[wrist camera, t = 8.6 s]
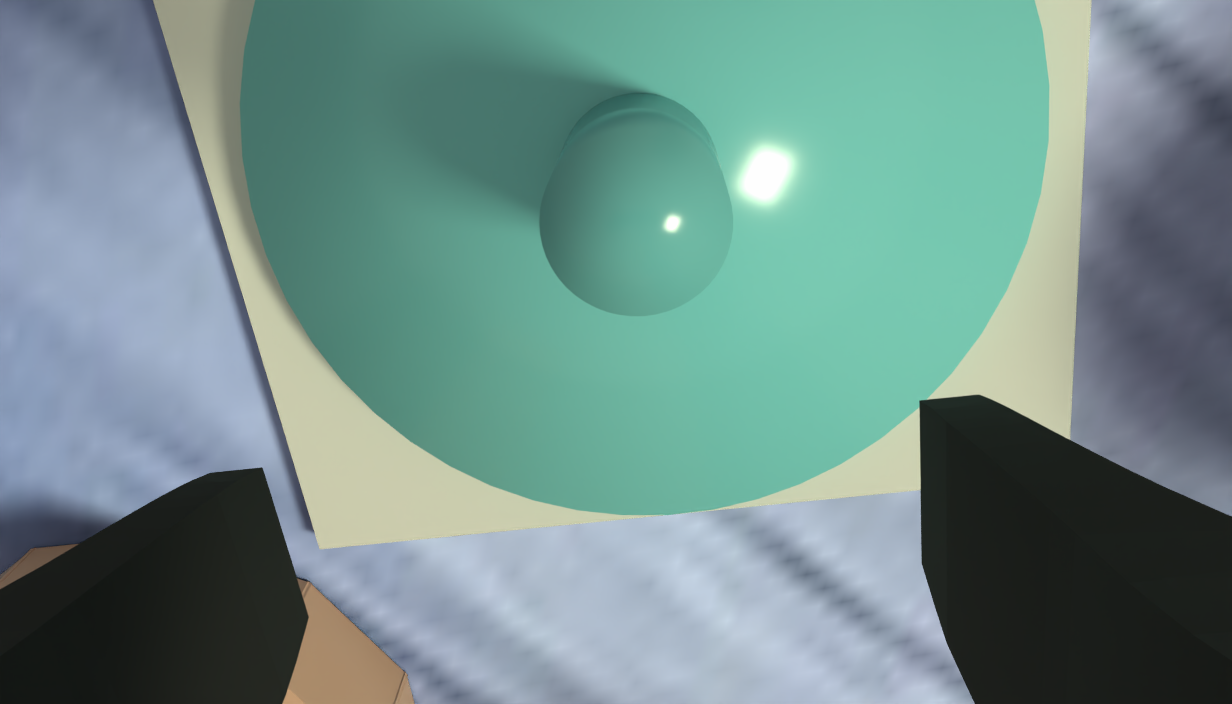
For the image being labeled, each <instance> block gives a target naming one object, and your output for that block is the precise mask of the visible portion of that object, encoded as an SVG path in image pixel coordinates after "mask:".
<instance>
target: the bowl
mask: <svg viewBox="0 0 1232 704" xmlns="http://www.w3.org/2000/svg"><path fill="white" fill-rule="evenodd" d="M76 545H78V544H73V545H63V546H53V547H43V548H33V549H30V550H29V551H28V552H27V553H26V554H25V555H24V556H23V557H22V558H21V559H20V560H18V561H17V562H16V563H14V564H13V565H12V566H11V567H9V568H8V569H7V570H6V571H4V572H3V573H2V574H1V575H0V589H1V588H3V587H5V586H7V585H8V584H10V583H12V582H14V581H16V580H17V579H19V578H21V577H23V576H25V575H26V574H28V573H30V572H32V571H34V570H35V569H37V568H39V567H41V566H42V565H44V564H46V563H48V562H49V561H51V560H53V559H54V558H56V557H58V556H59V555H61V554H63V553H65V552H66V551H68V550H70V549H71V548H73V547H75V546H76ZM297 580H298V584H299V587H300V590H301V593H302V596H303V600H304V603H305V606H306V609H307V612H308V616H309V619H308V623H307V626H306V630H305V633H304V637H303V641H302V644H301V648H300V651H299V655H298V658H297V662H296V665H295V668H294V671H293V674H292V677H291V681H290V684H289V687H288V690H287V693H286V696H285V699H284V701H283V703H282V704H415V703H414V700H413V696H412V693H411V689H410V685H409V682H408V678H407V676H408V675H407V674H406V672H404V671H403V670H402V669H401V668H400V667H399V666H398V665H396V664H395V663H394V662H393V661H392V660H391V659H390V658H389V657H388V656H387V655H386V654H385V653H384V652H383V651H382V650H381V649H379V648H378V647H377V646H376V645H375V644H374V643H373V642H372V641H371V640H370V639H369V638H368V637H367V636H366V635H365V634H364V633H363V632H361V631H360V630H359V629H358V628H357V627H356V626H355V625H354V624H353V623H352V622H351V621H350V620H349V619H348V618H347V617H346V616H345V615H343V614H342V613H341V612H340V611H339V610H338V609H337V608H336V607H335V606H334V605H333V604H332V603H331V602H330V601H329V600H328V599H327V598H325V597H324V596H323V595H322V594H321V593H320V592H319V591H318V590H317V589H316V588H315V587H314V586H313V585H312V583H310V582H306V581H303V580H300V579H298V578H297Z"/></svg>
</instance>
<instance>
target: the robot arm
mask: <svg viewBox="0 0 1232 704" xmlns="http://www.w3.org/2000/svg"><path fill="white" fill-rule="evenodd" d="M919 410H920V477H921V544H922V565H923V569H924V572H925V575H926V579H927V582H928V585H929V588H930V592H931V595H932V598H933V602H934V605H935V608H936V611H937V614H938V617H939V620H940V623H941V626H942V630H943V633H944V636H945V639H946V642H947V644H948V647H949V649H950V651H951V653H952V655H953V658H954V660H955V662H956V664H957V666H958V668H959V671H960V673H961V675H962V677H963V679H964V681H965V683H966V686H967V688H968V690H969V692H970V694H971V696H972V699H973V701H974V703H975V704H1232V516H1229V515H1227V514H1224V513H1222V512H1220V511H1217V510H1215V509H1213V508H1211V507H1208V506H1206V505H1204V504H1202V503H1199V502H1197V501H1195V500H1193V499H1190V498H1188V497H1186V496H1184V495H1181V494H1179V493H1177V492H1174V491H1172V490H1170V489H1168V488H1165V487H1163V486H1161V485H1159V484H1157V483H1155V482H1153V481H1151V480H1149V479H1146V478H1144V477H1142V476H1140V475H1138V474H1136V473H1134V472H1132V471H1130V470H1128V469H1126V468H1124V467H1122V466H1120V465H1118V464H1116V463H1114V462H1112V461H1110V460H1108V459H1106V458H1104V457H1102V456H1100V455H1098V454H1096V453H1094V452H1092V451H1090V450H1088V449H1086V448H1084V447H1082V446H1081V445H1079V444H1077V443H1075V442H1073V441H1071V440H1069V439H1067V438H1065V437H1063V436H1062V435H1060V434H1058V433H1056V432H1054V431H1052V430H1050V429H1048V428H1046V427H1045V426H1043V425H1041V424H1039V423H1037V422H1035V421H1033V420H1031V419H1030V418H1028V417H1026V416H1024V415H1022V414H1020V413H1018V412H1016V411H1014V410H1012V409H1010V408H1008V407H1006V406H1004V405H1002V404H1000V403H998V402H996V401H994V400H992V399H989V398H987V397H984V396H982V395H979V394H978V395H968V396H958V397H948V398H938V399H929V400H919ZM308 619H309V616H308V612H307V609H306V606H305V603H304V600H303V596H302V593H301V590H300V587H299V584H298V580H297V577H296V574H295V571H294V567H293V564H292V561H291V558H290V555H289V551H288V548H287V545H286V542H285V539H284V535H283V532H282V529H281V526H280V523H279V519H278V516H277V513H276V510H275V507H274V503H273V500H272V497H271V494H270V490H269V487H268V484H267V481H266V478H265V474H264V471H263V468H253V469H243V470H234V471H224V472H214V473H209V474H206V475H204V476H202V477H199V478H197V479H194V480H192V481H190V482H188V483H186V484H184V485H182V486H180V487H178V488H176V489H174V490H172V491H170V492H168V493H166V494H165V495H163V496H161V497H159V498H157V499H155V500H154V501H152V502H150V503H148V504H147V505H145V506H143V507H141V508H140V509H138V510H136V511H134V512H133V513H131V514H129V515H127V516H126V517H124V518H122V519H121V520H119V521H117V522H115V523H114V524H112V525H110V526H109V527H107V528H105V529H104V530H102V531H100V532H98V533H97V534H95V535H93V536H92V537H90V538H88V539H87V540H85V541H83V542H81V543H80V544H78V545H76V546H75V547H73V548H71V549H70V550H68V551H66V552H65V553H63V554H61V555H59V556H58V557H56V558H54V559H53V560H51V561H49V562H48V563H46V564H44V565H42V566H41V567H39V568H37V569H35V570H34V571H32V572H30V573H28V574H26V575H25V576H23V577H21V578H19V579H17V580H16V581H14V582H12V583H10V584H8V585H7V586H5V587H3V588H1V589H0V704H282V703H283V701H284V699H285V696H286V693H287V690H288V687H289V684H290V681H291V677H292V674H293V671H294V668H295V665H296V662H297V658H298V655H299V651H300V648H301V644H302V641H303V637H304V633H305V630H306V626H307V623H308Z"/></svg>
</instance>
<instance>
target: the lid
mask: <svg viewBox="0 0 1232 704" xmlns="http://www.w3.org/2000/svg"><path fill="white" fill-rule="evenodd" d="M240 122H241V143H242V158H243V164H244V170H245V175H246V181H247V186H248V192H249V198H250V203H251V208H252V211H253V215H254V218H255V221H256V224H257V227H258V231H259V234H260V237H261V240H262V244H263V247H264V250H265V253H266V256H267V258H268V260H269V263H270V265H271V267H272V269H273V272H274V274H275V276H276V278H277V280H278V283H279V285H280V287H281V289H282V291H283V294H284V296H285V298H286V300H287V302H288V304H289V305H290V307H291V309H292V310H293V312H294V314H295V315H296V317H297V318H298V320H299V322H300V323H301V325H302V327H303V328H304V330H305V332H306V333H307V335H308V337H309V338H310V340H311V342H312V343H313V344H314V345H315V347H316V348H317V349H318V351H319V352H320V353H321V354H322V356H323V357H324V358H325V359H326V361H327V362H328V363H329V365H330V366H331V367H332V368H333V370H334V371H335V372H336V374H337V375H338V376H339V377H340V379H341V380H342V381H343V382H344V383H345V384H346V385H347V386H348V387H349V388H350V389H351V390H352V391H353V392H354V393H355V394H356V395H357V396H358V397H359V398H360V399H361V400H362V401H363V402H364V403H365V404H366V405H367V406H368V407H369V408H370V409H371V410H372V411H373V412H374V413H375V414H376V415H378V416H379V417H380V418H381V419H383V420H384V421H385V422H386V423H388V424H389V425H390V426H391V427H393V428H394V429H395V430H396V431H398V432H399V433H400V434H401V435H403V436H404V437H405V438H406V439H408V440H409V441H410V442H412V443H413V444H415V445H417V446H418V447H420V448H421V449H423V450H425V451H426V452H428V453H429V454H431V455H433V456H434V457H436V458H437V459H439V460H441V461H442V462H444V463H445V464H447V465H449V466H450V467H452V468H455V469H457V470H459V471H461V472H463V473H465V474H467V475H469V476H471V477H473V478H476V479H478V480H480V481H482V482H484V483H486V484H488V485H490V486H493V487H496V488H499V489H502V490H505V491H507V492H510V493H513V494H516V495H519V496H522V497H525V498H528V499H531V500H534V501H538V502H542V503H547V504H551V505H556V506H560V507H565V508H569V509H574V510H579V511H588V512H598V513H607V514H616V515H672V514H680V513H689V512H698V511H706V510H714V509H718V508H722V507H727V506H731V505H735V504H740V503H744V502H748V501H752V500H757V499H760V498H762V497H765V496H768V495H771V494H774V493H776V492H779V491H782V490H785V489H788V488H791V487H793V486H796V485H799V484H801V483H803V482H805V481H807V480H810V479H812V478H814V477H816V476H818V475H820V474H822V473H824V472H826V471H828V470H830V469H832V468H834V467H836V466H838V465H840V464H842V463H844V462H845V461H847V460H848V459H850V458H852V457H853V456H855V455H856V454H858V453H859V452H861V451H862V450H864V449H866V448H867V447H869V446H870V445H872V444H873V443H875V442H877V441H878V440H880V439H881V438H882V437H884V436H885V435H886V434H887V433H889V432H890V431H891V430H892V429H893V428H895V427H896V426H897V425H898V424H900V423H901V422H902V421H903V420H904V419H906V418H907V417H908V416H909V415H911V414H912V413H913V412H914V411H915V410H917V409H918V408H919V400H927V399H928V398H929V397H930V395H931V394H932V393H933V392H934V391H935V390H936V389H937V388H938V387H939V386H940V385H941V384H942V383H943V382H944V381H945V380H946V379H947V378H948V377H949V376H950V375H951V374H952V372H953V371H954V370H955V369H956V367H957V366H958V365H959V363H960V362H961V361H962V359H963V358H964V357H965V355H966V354H967V353H968V351H969V350H970V349H971V347H972V346H973V345H974V343H975V342H976V341H977V339H978V338H979V337H980V335H981V334H982V332H983V331H984V329H985V327H986V326H987V324H988V322H989V320H990V319H991V317H992V315H993V313H994V312H995V310H996V308H997V307H998V305H999V303H1000V301H1001V300H1002V298H1003V296H1004V295H1005V293H1006V291H1007V289H1008V287H1009V284H1010V282H1011V279H1012V277H1013V275H1014V272H1015V270H1016V268H1017V265H1018V263H1019V261H1020V258H1021V256H1022V254H1023V251H1024V249H1025V247H1026V244H1027V241H1028V237H1029V234H1030V230H1031V227H1032V223H1033V220H1034V216H1035V213H1036V209H1037V206H1038V202H1039V198H1040V195H1041V190H1042V183H1043V176H1044V169H1045V162H1046V156H1047V149H1048V142H1049V78H1048V70H1047V61H1046V53H1045V45H1044V37H1043V30H1042V26H1041V22H1040V18H1039V15H1038V11H1037V7H1036V3H1035V0H255V3H254V7H253V12H252V16H251V21H250V25H249V30H248V34H247V39H246V43H245V48H244V57H243V69H242V81H241V93H240Z"/></svg>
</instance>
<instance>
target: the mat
mask: <svg viewBox="0 0 1232 704" xmlns="http://www.w3.org/2000/svg"><path fill="white" fill-rule="evenodd" d="M153 2H154V5H155V9H156V12H157V15H158V19H159V22H160V25H161V28H162V32H163V35H164V38H165V42H166V45H167V48H168V51H169V55H170V58H171V61H172V65H173V68H174V71H175V74H176V78H177V81H178V84H179V88H180V91H181V94H182V97H183V101H184V104H185V107H186V111H187V114H188V117H189V121H190V124H191V127H192V130H193V134H194V137H195V140H196V144H197V147H198V150H199V153H200V157H201V160H202V163H203V167H204V170H205V173H206V176H207V180H208V183H209V186H210V190H211V193H212V196H213V200H214V203H215V206H216V209H217V213H218V216H219V219H220V223H221V226H222V229H223V232H224V236H225V239H226V242H227V246H228V249H229V252H230V255H231V259H232V262H233V265H234V269H235V272H236V275H237V278H238V282H239V285H240V288H241V292H242V295H243V298H244V302H245V305H246V308H247V311H248V315H249V318H250V321H251V325H252V328H253V331H254V334H255V338H256V341H257V344H258V348H259V351H260V354H261V357H262V361H263V364H264V367H265V371H266V374H267V377H268V381H269V384H270V387H271V390H272V394H273V397H274V400H275V404H276V407H277V410H278V413H279V417H280V420H281V423H282V427H283V430H284V433H285V436H286V440H287V443H288V446H289V450H290V453H291V456H292V459H293V463H294V466H295V469H296V473H297V476H298V479H299V483H300V486H301V489H302V492H303V496H304V499H305V502H306V506H307V509H308V512H309V515H310V519H311V522H312V525H313V529H314V532H315V535H316V538H317V542H318V545H319V548H320V549H327V548H337V547H347V546H358V545H368V544H378V543H388V542H398V541H408V540H418V539H429V538H439V537H449V536H459V535H469V534H479V533H489V532H499V531H510V530H520V529H530V528H540V527H550V526H560V525H570V524H581V523H591V522H601V521H611V520H621V519H631V518H641V517H652V516H662V515H616V514H607V513H598V512H588V511H579V510H574V509H569V508H565V507H560V506H556V505H551V504H547V503H542V502H538V501H534V500H531V499H528V498H525V497H522V496H519V495H516V494H513V493H510V492H507V491H505V490H502V489H499V488H496V487H493V486H490V485H488V484H486V483H484V482H482V481H480V480H478V479H476V478H473V477H471V476H469V475H467V474H465V473H463V472H461V471H459V470H457V469H455V468H452V467H450V466H449V465H447V464H445V463H444V462H442V461H441V460H439V459H437V458H436V457H434V456H433V455H431V454H429V453H428V452H426V451H425V450H423V449H421V448H420V447H418V446H417V445H415V444H413V443H412V442H410V441H409V440H408V439H406V438H405V437H404V436H403V435H401V434H400V433H399V432H398V431H396V430H395V429H394V428H393V427H391V426H390V425H389V424H388V423H386V422H385V421H384V420H383V419H381V418H380V417H379V416H378V415H376V414H375V413H374V412H373V411H372V410H371V409H370V408H369V407H368V406H367V405H366V404H365V403H364V402H363V401H362V400H361V399H360V398H359V397H358V396H357V395H356V394H355V393H354V392H353V391H352V390H351V389H350V388H349V387H348V386H347V385H346V384H345V383H344V382H343V381H342V380H341V379H340V377H339V376H338V375H337V374H336V372H335V371H334V370H333V368H332V367H331V366H330V365H329V363H328V362H327V361H326V359H325V358H324V357H323V356H322V354H321V353H320V352H319V351H318V349H317V348H316V347H315V345H314V344H313V343H312V342H311V340H310V338H309V337H308V335H307V333H306V332H305V330H304V328H303V327H302V325H301V323H300V322H299V320H298V318H297V317H296V315H295V314H294V312H293V310H292V309H291V307H290V305H289V304H288V302H287V300H286V298H285V296H284V294H283V291H282V289H281V287H280V285H279V283H278V280H277V278H276V276H275V274H274V272H273V269H272V267H271V265H270V263H269V260H268V258H267V256H266V253H265V250H264V247H263V244H262V240H261V237H260V234H259V231H258V227H257V224H256V221H255V218H254V215H253V211H252V208H251V203H250V198H249V192H248V186H247V181H246V175H245V170H244V164H243V158H242V143H241V122H240V93H241V81H242V69H243V57H244V48H245V43H246V39H247V34H248V30H249V25H250V21H251V16H252V12H253V7H254V3H255V0H153ZM1035 3H1036V7H1037V11H1038V15H1039V18H1040V22H1041V26H1042V30H1043V37H1044V45H1045V53H1046V61H1047V70H1048V78H1049V142H1048V149H1047V156H1046V162H1045V169H1044V176H1043V183H1042V190H1041V195H1040V198H1039V202H1038V206H1037V209H1036V213H1035V216H1034V220H1033V223H1032V227H1031V230H1030V234H1029V237H1028V241H1027V244H1026V247H1025V249H1024V251H1023V254H1022V256H1021V258H1020V261H1019V263H1018V265H1017V268H1016V270H1015V272H1014V275H1013V277H1012V279H1011V282H1010V284H1009V287H1008V289H1007V291H1006V293H1005V295H1004V296H1003V298H1002V300H1001V301H1000V303H999V305H998V307H997V308H996V310H995V312H994V313H993V315H992V317H991V319H990V320H989V322H988V324H987V326H986V327H985V329H984V331H983V332H982V334H981V335H980V337H979V338H978V339H977V341H976V342H975V343H974V345H973V346H972V347H971V349H970V350H969V351H968V353H967V354H966V355H965V357H964V358H963V359H962V361H961V362H960V363H959V365H958V366H957V367H956V369H955V370H954V371H953V372H952V374H951V375H950V376H949V377H948V378H947V379H946V380H945V381H944V382H943V383H942V384H941V385H940V386H939V387H938V388H937V389H936V390H935V391H934V392H933V393H932V394H931V395H930V397H929V398H928V399H927V400H929V399H938V398H948V397H958V396H968V395H978V394H979V395H982V396H984V397H987V398H989V399H992V400H994V401H996V402H998V403H1000V404H1002V405H1004V406H1006V407H1008V408H1010V409H1012V410H1014V411H1016V412H1018V413H1020V414H1022V415H1024V416H1026V417H1028V418H1030V419H1031V420H1033V421H1035V422H1037V423H1039V424H1041V425H1043V426H1045V427H1046V428H1048V429H1050V430H1052V431H1054V432H1056V433H1058V434H1060V435H1062V436H1063V437H1065V438H1067V439H1069V440H1070V428H1071V407H1072V387H1073V366H1074V346H1075V325H1076V305H1077V284H1078V264H1079V243H1080V223H1081V202H1082V182H1083V162H1084V141H1085V121H1086V100H1087V80H1088V59H1089V39H1090V18H1091V0H1035ZM915 490H921V477H920V410H919V408H918V409H917V410H915V411H914V412H913V413H912V414H911V415H909V416H908V417H907V418H906V419H904V420H903V421H902V422H901V423H900V424H898V425H897V426H896V427H895V428H893V429H892V430H891V431H890V432H889V433H887V434H886V435H885V436H884V437H882V438H881V439H880V440H878V441H877V442H875V443H873V444H872V445H870V446H869V447H867V448H866V449H864V450H862V451H861V452H859V453H858V454H856V455H855V456H853V457H852V458H850V459H848V460H847V461H845V462H844V463H842V464H840V465H838V466H836V467H834V468H832V469H830V470H828V471H826V472H824V473H822V474H820V475H818V476H816V477H814V478H812V479H810V480H807V481H805V482H803V483H801V484H799V485H796V486H793V487H791V488H788V489H785V490H782V491H779V492H776V493H774V494H771V495H768V496H765V497H762V498H760V499H757V500H752V501H748V502H744V503H740V504H735V505H731V506H727V507H722V508H718V509H714V510H723V509H733V508H743V507H753V506H763V505H773V504H783V503H794V502H804V501H814V500H824V499H834V498H844V497H854V496H865V495H875V494H885V493H895V492H905V491H915ZM706 511H712V510H706ZM698 512H702V511H698ZM689 513H692V512H689ZM680 514H682V513H680Z"/></svg>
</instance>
